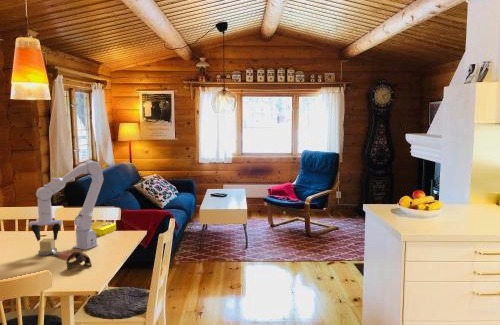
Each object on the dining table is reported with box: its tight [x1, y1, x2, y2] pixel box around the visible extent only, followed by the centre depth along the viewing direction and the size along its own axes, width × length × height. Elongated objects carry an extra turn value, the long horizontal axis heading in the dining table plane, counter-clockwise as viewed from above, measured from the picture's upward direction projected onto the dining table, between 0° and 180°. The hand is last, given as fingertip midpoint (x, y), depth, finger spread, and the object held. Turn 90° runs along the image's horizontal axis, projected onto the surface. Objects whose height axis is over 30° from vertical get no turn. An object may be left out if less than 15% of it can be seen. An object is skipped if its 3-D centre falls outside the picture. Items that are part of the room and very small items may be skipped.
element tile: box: [91, 220, 117, 237], centre depth 232 cm, size 15×15×5 cm
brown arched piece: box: [65, 250, 93, 270], centre depth 177 cm, size 12×10×8 cm
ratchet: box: [38, 247, 76, 260], centre depth 192 cm, size 22×8×5 cm, turn 65°
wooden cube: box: [39, 237, 56, 252], centre depth 195 cm, size 5×5×5 cm
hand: (47, 239), depth 195 cm, fingers open, 7 cm apart
